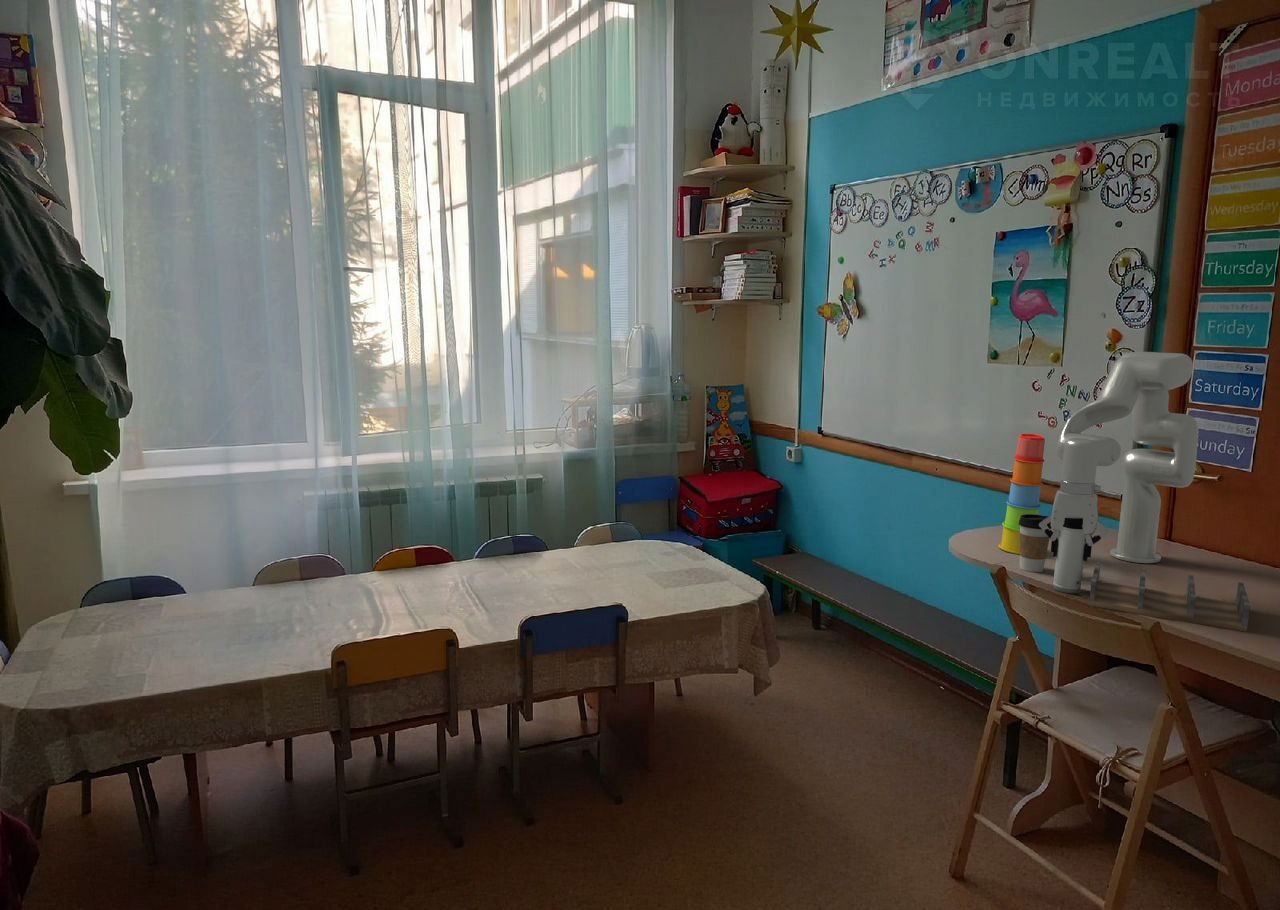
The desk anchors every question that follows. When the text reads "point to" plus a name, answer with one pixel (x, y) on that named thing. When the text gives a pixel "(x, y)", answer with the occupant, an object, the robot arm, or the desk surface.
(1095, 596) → the drying rack
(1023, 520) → the coffee cup
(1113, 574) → the desk surface
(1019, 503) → the stacking cups
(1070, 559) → the travel mug
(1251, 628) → the desk surface
